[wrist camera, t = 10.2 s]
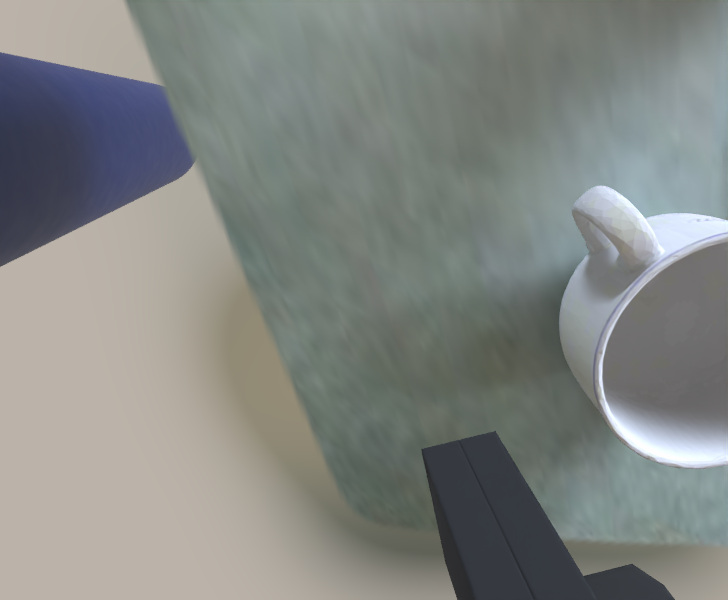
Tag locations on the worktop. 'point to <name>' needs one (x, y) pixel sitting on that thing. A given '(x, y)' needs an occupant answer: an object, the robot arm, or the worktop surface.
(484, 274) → the worktop surface
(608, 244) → the teacup
